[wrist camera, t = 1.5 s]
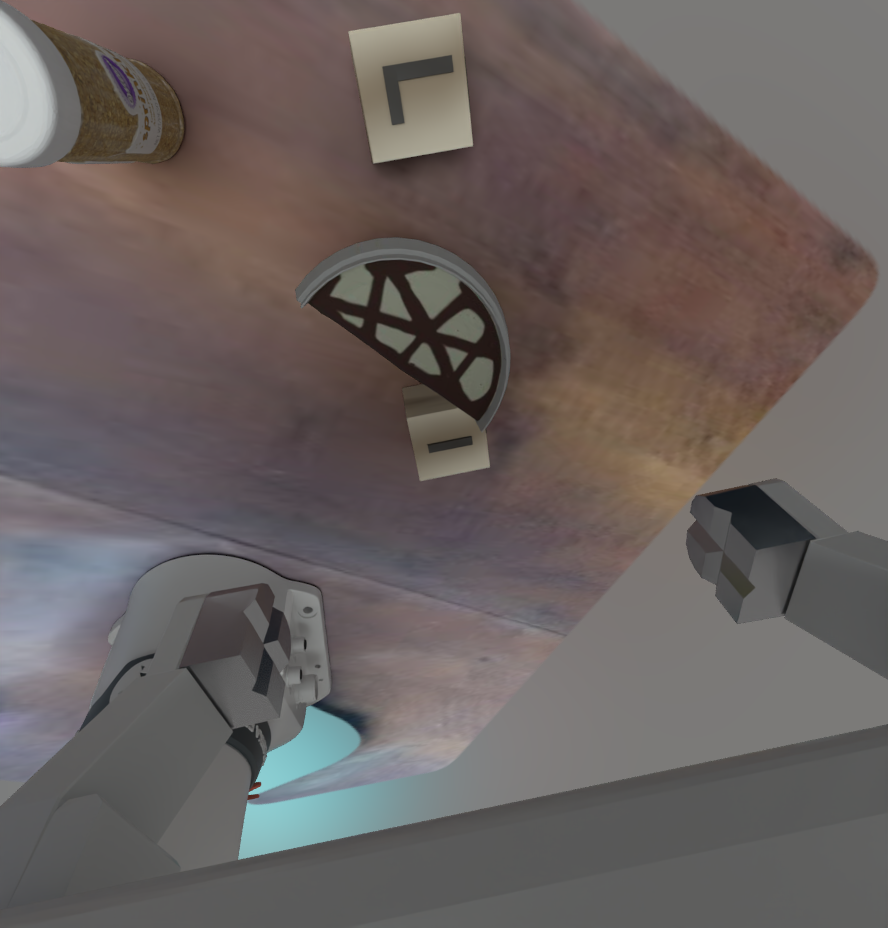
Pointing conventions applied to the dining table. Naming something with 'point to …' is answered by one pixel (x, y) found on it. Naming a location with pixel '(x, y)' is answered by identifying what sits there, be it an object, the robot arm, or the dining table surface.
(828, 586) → the robot arm
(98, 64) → the sprinkles bottle
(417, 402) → the numbered block one
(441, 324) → the food container
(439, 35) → the numbered block seven
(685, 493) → the dining table surface
